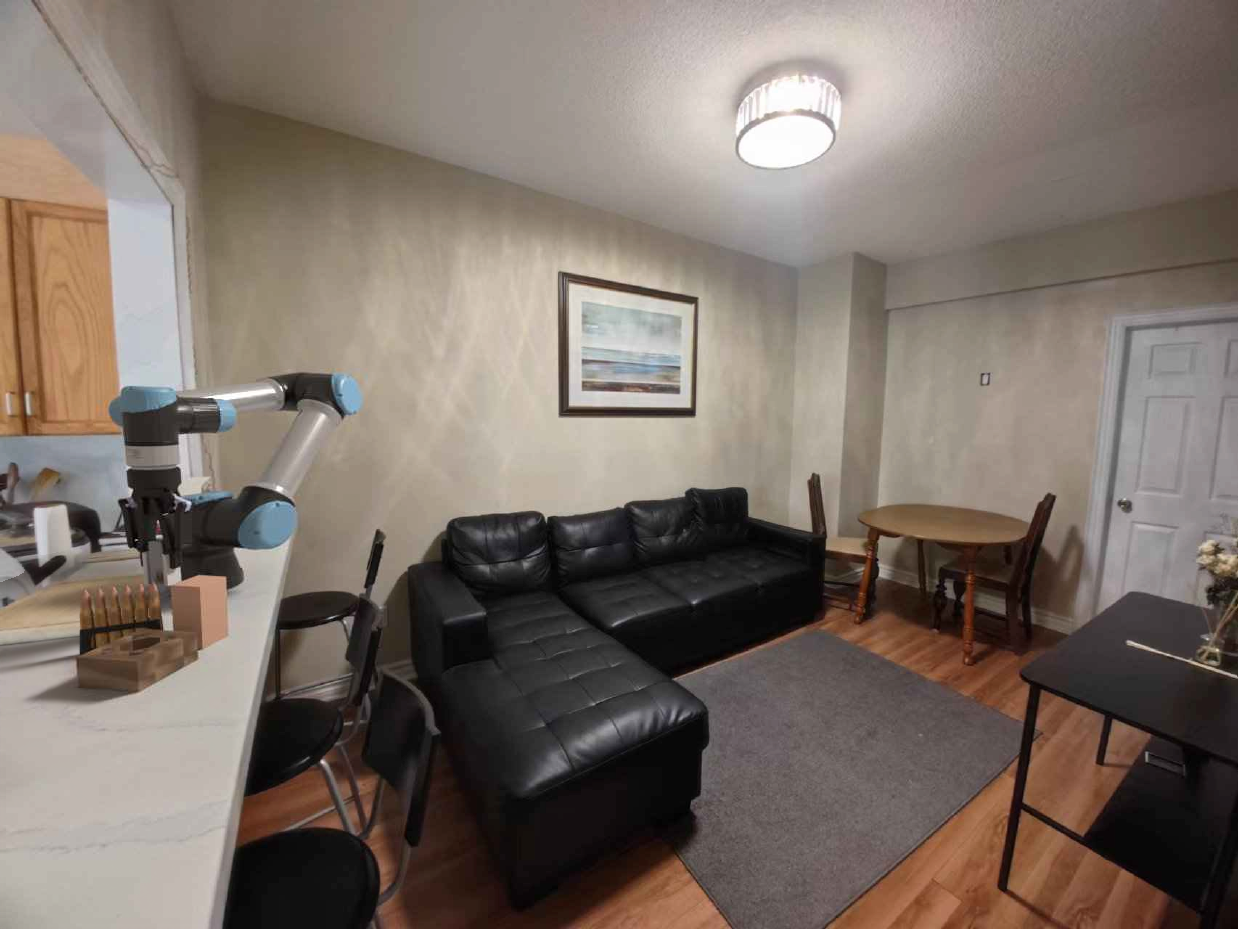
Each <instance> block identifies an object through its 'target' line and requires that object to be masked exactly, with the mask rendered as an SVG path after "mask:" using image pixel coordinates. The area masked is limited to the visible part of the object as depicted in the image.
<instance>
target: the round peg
mask: <svg viewBox="0 0 1238 929" xmlns="http://www.w3.org/2000/svg"><path fill="white" fill-rule="evenodd" d="M165 551H166V549H165V545H164V541H163V537H162V536H161V537H160V536H159V537H156V538H154V539H150V540H148V552H149V564H150V576H151V584H150V586H151V585H152V583H153V582H154V583H155V584H156V586H157V589H158V594H159V601H160V602H163V601H167V600H172V597H171V585H170V586H164V574H163V561H162V554H163V553H162V552H165Z"/></svg>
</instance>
